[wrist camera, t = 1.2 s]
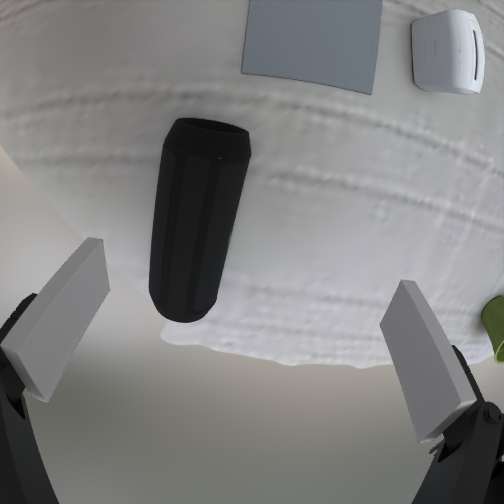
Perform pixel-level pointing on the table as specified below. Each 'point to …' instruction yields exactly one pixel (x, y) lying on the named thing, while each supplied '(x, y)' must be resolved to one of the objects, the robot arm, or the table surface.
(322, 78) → the rubber mat
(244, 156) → the portable speaker
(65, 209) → the table surface
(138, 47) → the table surface
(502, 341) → the plant pot
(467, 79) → the photo printer
